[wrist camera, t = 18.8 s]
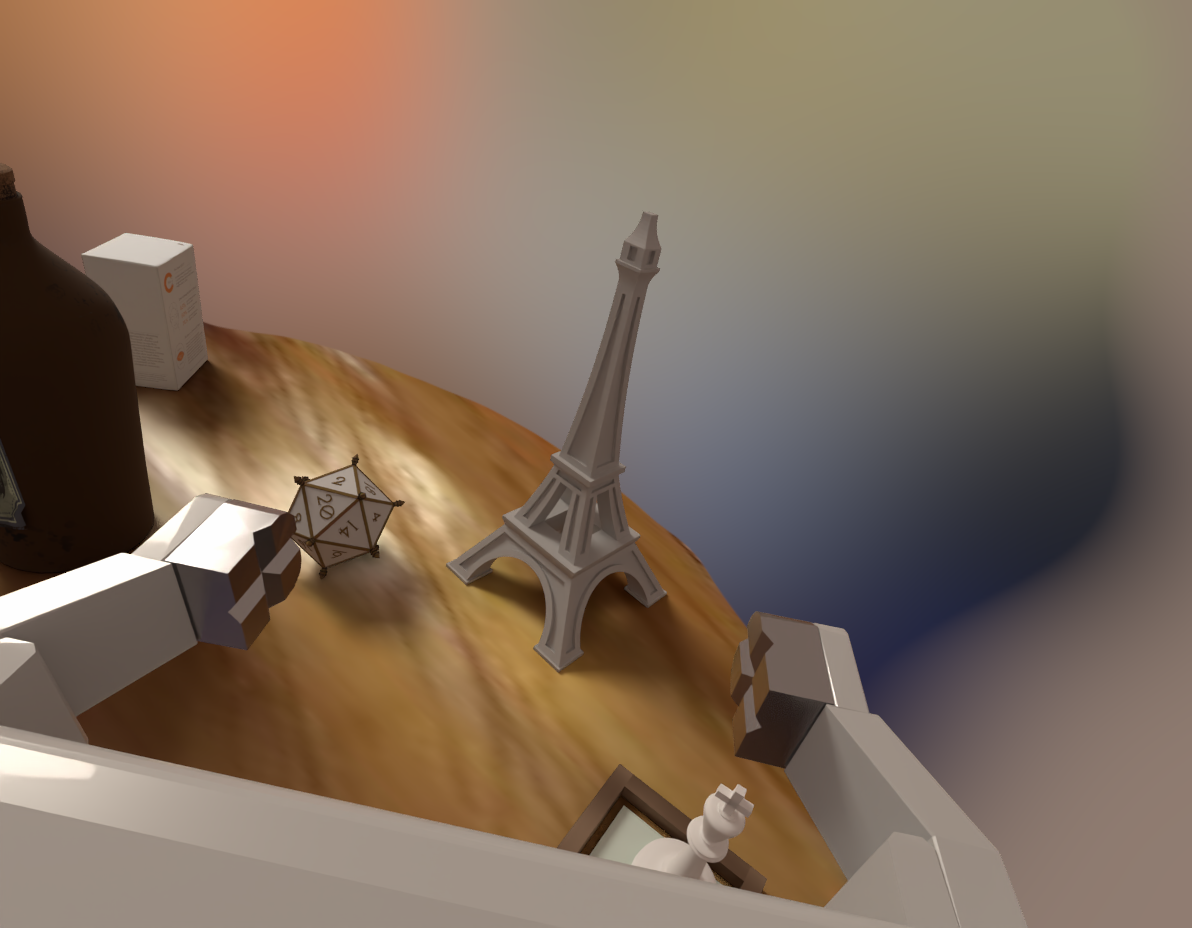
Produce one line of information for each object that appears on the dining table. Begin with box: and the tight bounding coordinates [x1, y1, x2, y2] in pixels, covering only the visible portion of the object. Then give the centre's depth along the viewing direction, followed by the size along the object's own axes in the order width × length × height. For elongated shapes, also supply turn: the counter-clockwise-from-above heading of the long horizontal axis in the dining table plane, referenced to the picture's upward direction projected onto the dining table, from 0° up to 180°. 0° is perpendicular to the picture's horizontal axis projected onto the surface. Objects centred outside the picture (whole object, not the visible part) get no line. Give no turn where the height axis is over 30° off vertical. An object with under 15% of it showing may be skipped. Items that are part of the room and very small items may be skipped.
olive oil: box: [0, 163, 154, 573], centre depth 39 cm, size 11×11×25 cm
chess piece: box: [632, 784, 754, 884], centre depth 31 cm, size 5×5×10 cm
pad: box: [589, 806, 722, 885], centre depth 33 cm, size 6×7×1 cm
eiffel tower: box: [446, 212, 667, 672], centre depth 44 cm, size 13×13×30 cm
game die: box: [288, 454, 405, 579], centre depth 47 cm, size 9×8×10 cm
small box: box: [81, 233, 208, 391], centre depth 62 cm, size 8×6×13 cm
